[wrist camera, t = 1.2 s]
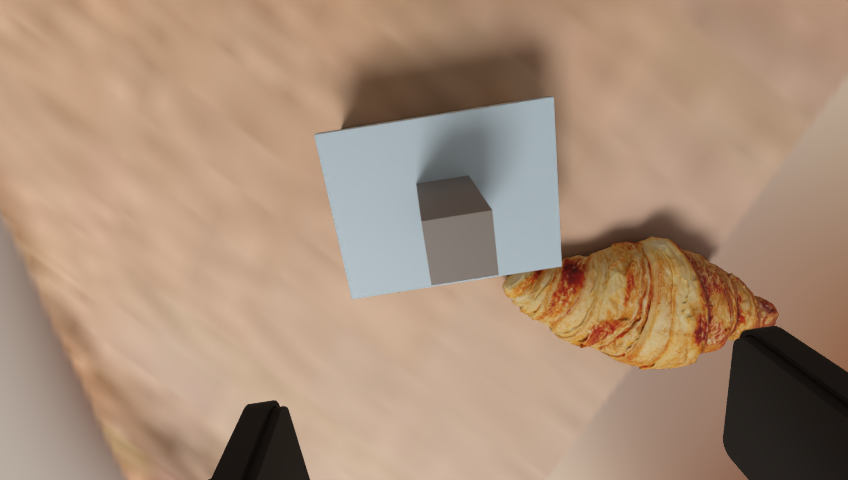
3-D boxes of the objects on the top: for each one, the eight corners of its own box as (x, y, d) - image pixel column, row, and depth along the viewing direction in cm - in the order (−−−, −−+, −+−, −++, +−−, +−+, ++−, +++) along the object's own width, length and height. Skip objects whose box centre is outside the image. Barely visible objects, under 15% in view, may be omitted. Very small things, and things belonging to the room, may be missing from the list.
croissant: (486, 290, 40) (492, 376, 34) (515, 208, 32) (529, 301, 27) (717, 310, 41) (759, 396, 36) (797, 235, 33) (865, 329, 28)
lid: (549, 96, 25) (610, 105, 18) (557, 261, 28) (611, 326, 21) (316, 133, 25) (281, 157, 18) (353, 293, 29) (336, 368, 21)
